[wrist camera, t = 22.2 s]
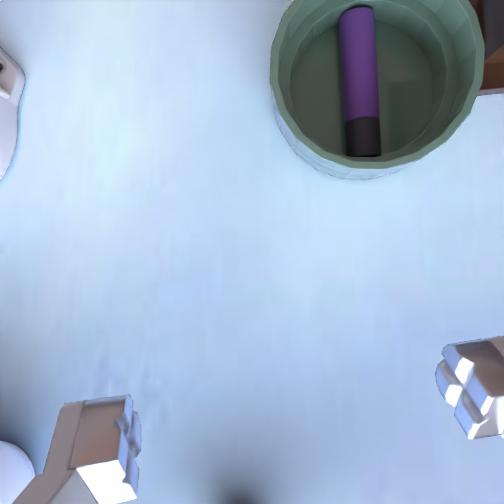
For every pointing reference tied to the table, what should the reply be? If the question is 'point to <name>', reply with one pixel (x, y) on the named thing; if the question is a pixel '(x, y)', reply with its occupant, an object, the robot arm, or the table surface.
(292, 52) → the bowl
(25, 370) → the table surface
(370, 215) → the table surface
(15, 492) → the lidded bowl
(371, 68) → the glue stick
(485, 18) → the stand
